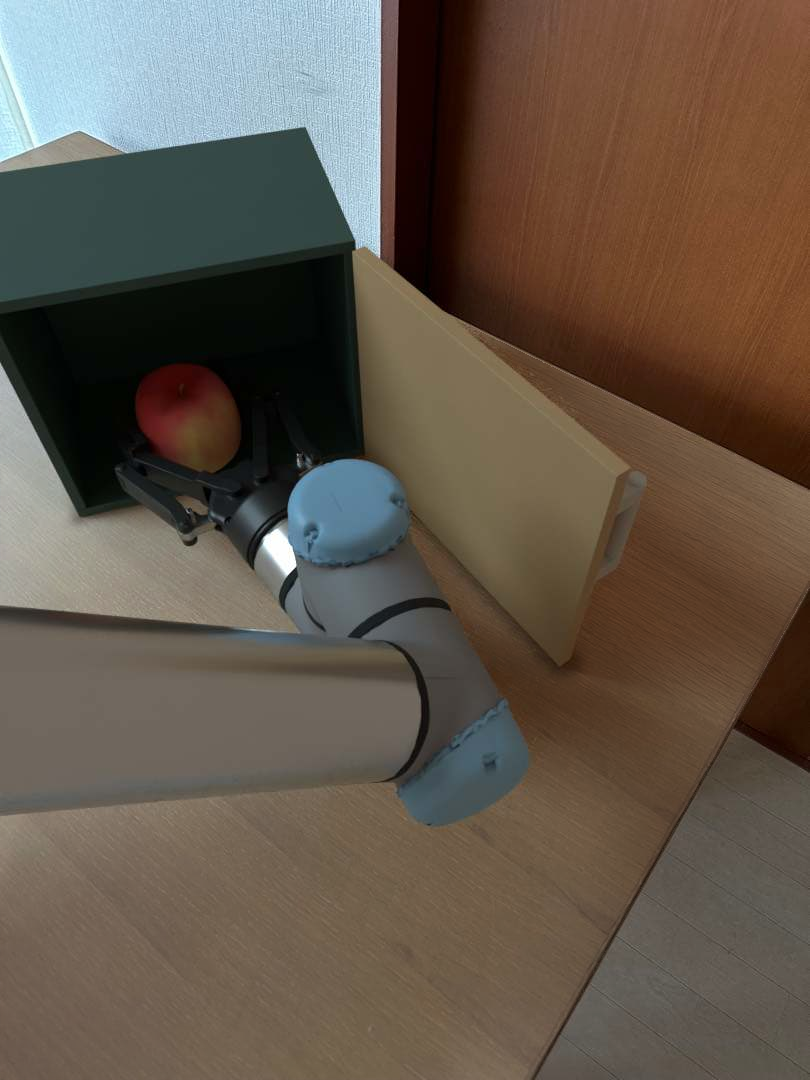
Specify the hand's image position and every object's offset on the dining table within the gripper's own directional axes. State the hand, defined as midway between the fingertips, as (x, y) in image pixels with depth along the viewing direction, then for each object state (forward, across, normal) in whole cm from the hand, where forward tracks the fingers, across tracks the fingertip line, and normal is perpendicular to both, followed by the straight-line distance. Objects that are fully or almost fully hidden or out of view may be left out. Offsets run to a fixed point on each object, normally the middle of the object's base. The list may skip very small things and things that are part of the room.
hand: (165, 389), depth 78 cm
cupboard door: (-28, +17, -7) cm, 33 cm away
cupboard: (+1, +4, -7) cm, 8 cm away
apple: (-4, 0, -6) cm, 8 cm away
